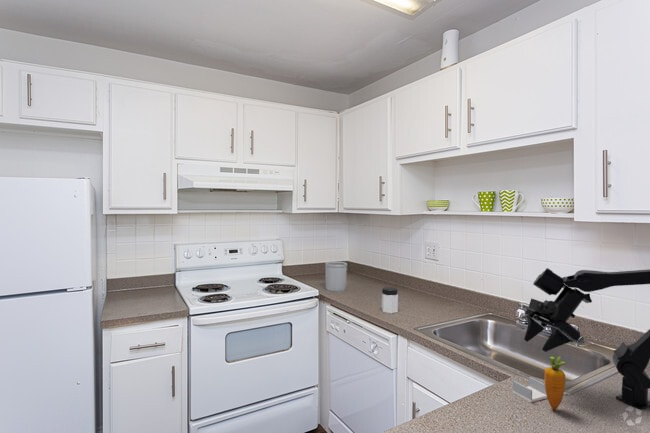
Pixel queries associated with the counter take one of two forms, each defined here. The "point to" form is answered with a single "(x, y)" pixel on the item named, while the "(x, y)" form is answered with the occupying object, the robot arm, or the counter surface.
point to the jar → (389, 300)
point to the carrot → (554, 383)
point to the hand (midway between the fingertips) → (534, 345)
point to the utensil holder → (336, 276)
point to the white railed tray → (530, 390)
